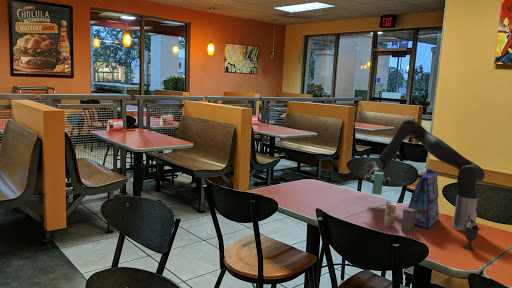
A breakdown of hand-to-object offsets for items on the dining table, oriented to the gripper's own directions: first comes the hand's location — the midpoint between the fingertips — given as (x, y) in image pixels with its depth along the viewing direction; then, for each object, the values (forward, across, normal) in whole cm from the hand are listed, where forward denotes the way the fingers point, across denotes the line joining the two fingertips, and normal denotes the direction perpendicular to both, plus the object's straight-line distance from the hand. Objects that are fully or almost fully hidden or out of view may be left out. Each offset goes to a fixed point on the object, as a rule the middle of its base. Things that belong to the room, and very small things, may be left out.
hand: (378, 182), depth 213 cm
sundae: (+24, +41, +20) cm, 51 cm away
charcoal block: (+12, +15, +20) cm, 28 cm away
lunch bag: (-7, +24, +20) cm, 32 cm away
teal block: (-3, 0, +6) cm, 7 cm away
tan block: (+6, +7, +20) cm, 22 cm away
